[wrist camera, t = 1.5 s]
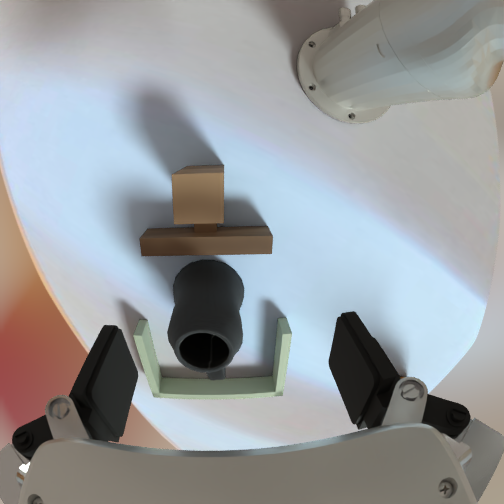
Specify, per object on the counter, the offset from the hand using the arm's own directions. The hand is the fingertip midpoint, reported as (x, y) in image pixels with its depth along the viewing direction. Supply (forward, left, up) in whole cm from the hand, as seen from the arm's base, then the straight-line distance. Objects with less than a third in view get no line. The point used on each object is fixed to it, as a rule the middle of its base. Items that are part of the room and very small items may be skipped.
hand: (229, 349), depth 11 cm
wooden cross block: (-1, -2, -21) cm, 22 cm away
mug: (+11, -2, -22) cm, 24 cm away
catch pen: (+20, -2, -21) cm, 29 cm away
